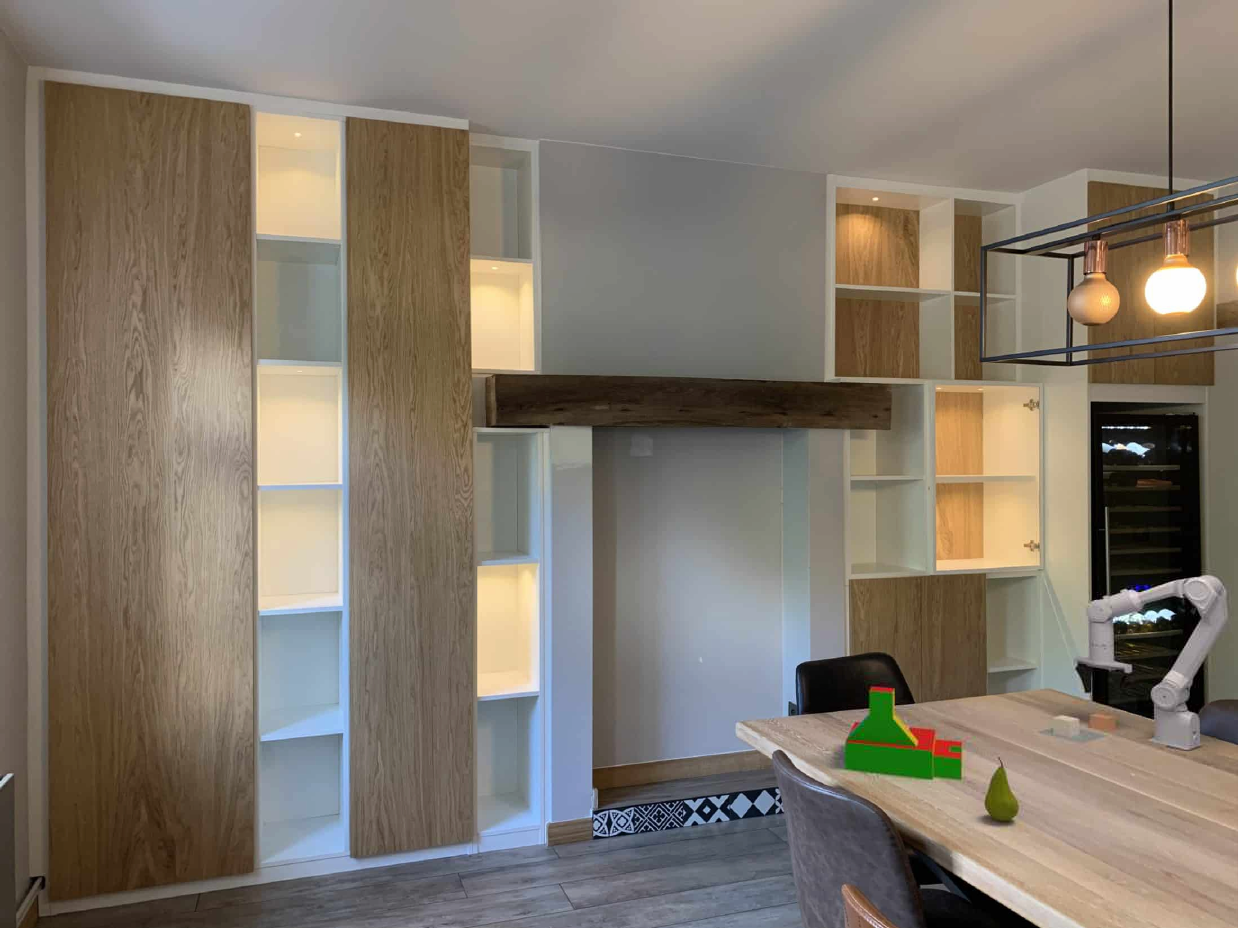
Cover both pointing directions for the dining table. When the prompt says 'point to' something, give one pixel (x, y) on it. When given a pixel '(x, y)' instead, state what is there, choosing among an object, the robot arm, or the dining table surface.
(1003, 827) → the dining table surface
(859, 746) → the building blocks toy
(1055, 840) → the dining table surface
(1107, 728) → the terracotta block
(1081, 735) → the grey square plate
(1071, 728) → the cream block
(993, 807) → the fruit
